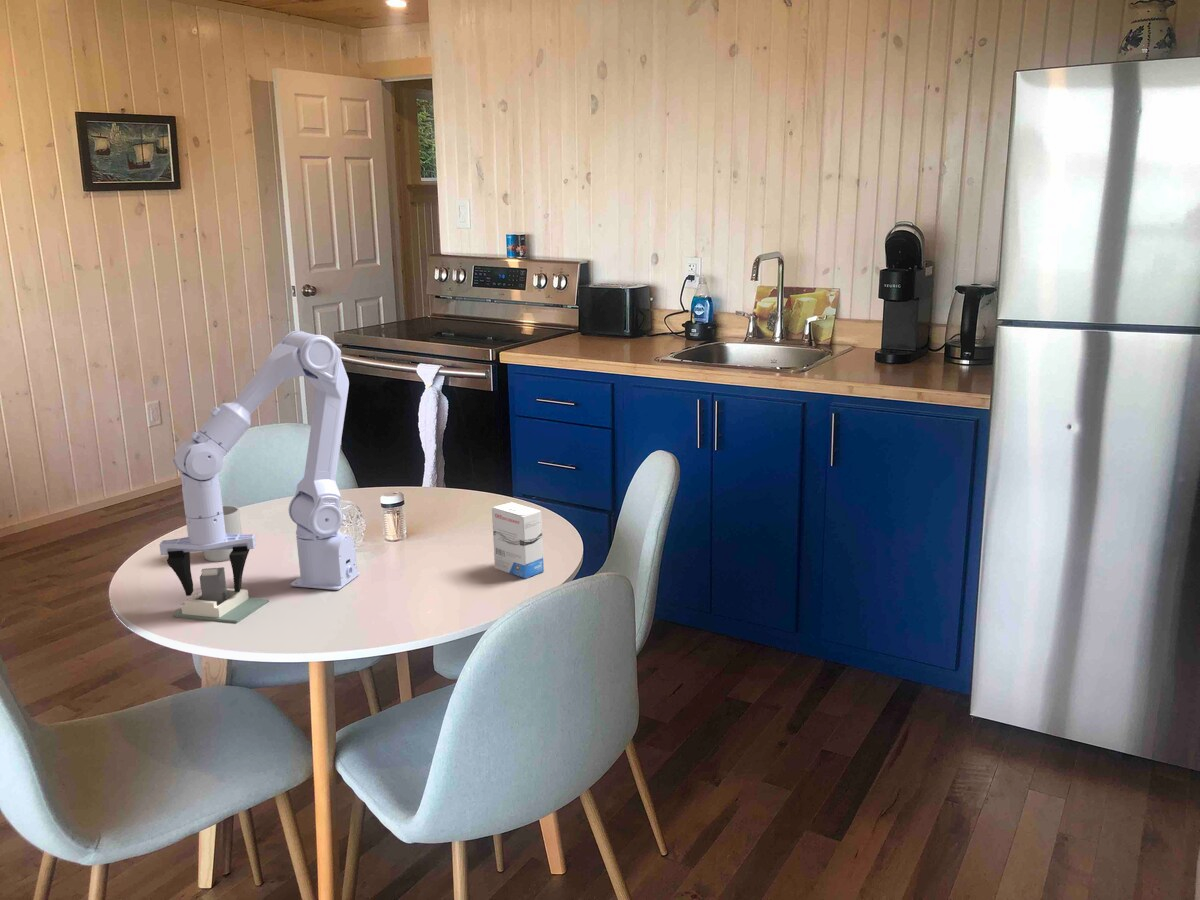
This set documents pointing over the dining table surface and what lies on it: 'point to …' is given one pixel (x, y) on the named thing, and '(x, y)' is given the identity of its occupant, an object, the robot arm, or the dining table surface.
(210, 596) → the plug
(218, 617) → the board
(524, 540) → the ink box
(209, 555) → the cup
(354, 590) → the dining table surface
